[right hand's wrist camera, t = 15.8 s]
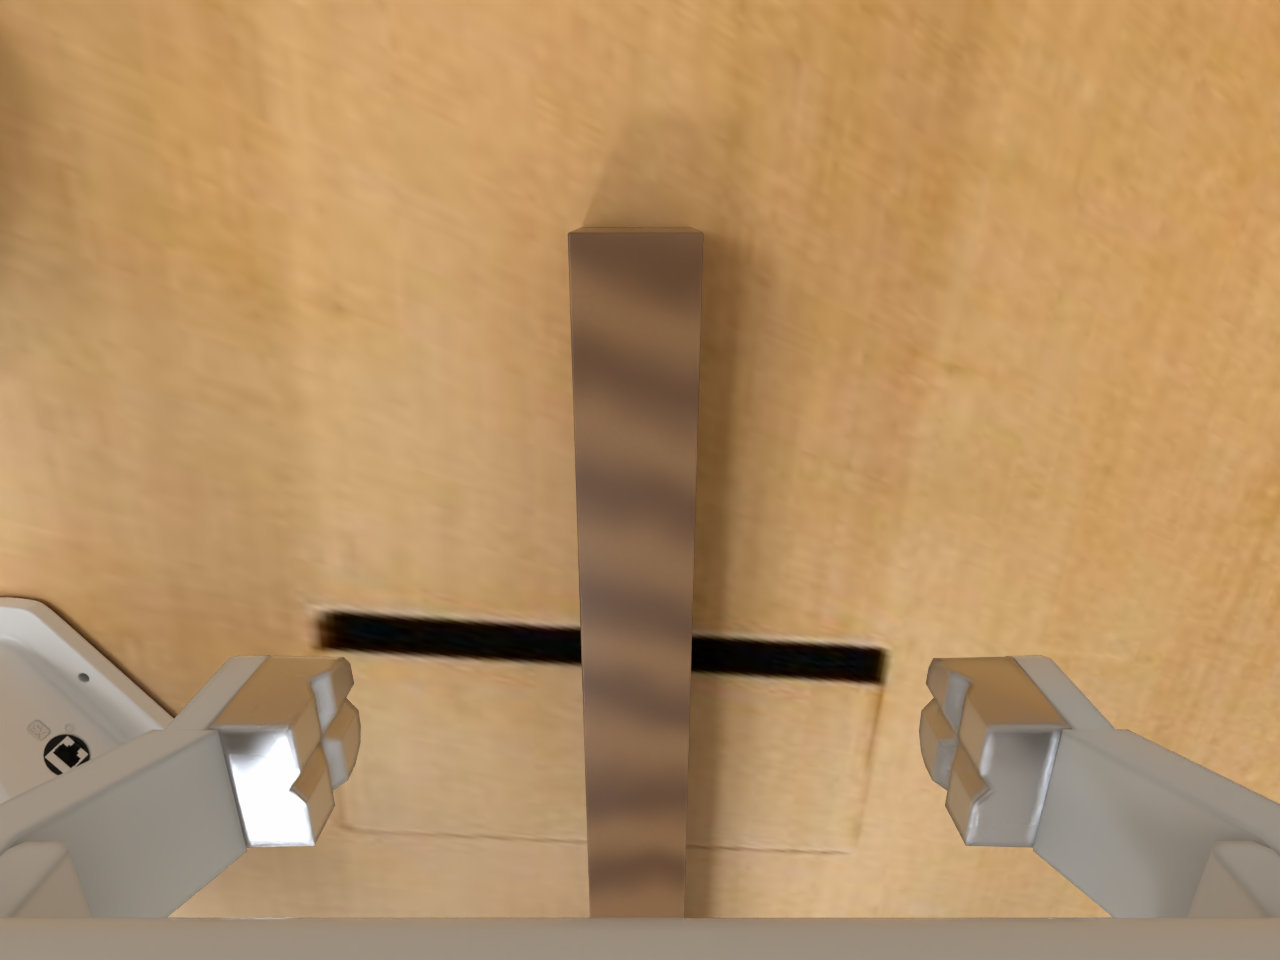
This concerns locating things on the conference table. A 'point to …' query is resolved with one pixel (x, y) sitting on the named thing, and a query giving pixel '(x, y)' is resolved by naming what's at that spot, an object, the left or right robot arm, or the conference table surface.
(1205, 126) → the conference table surface
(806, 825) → the conference table surface
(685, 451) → the beam
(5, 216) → the conference table surface
